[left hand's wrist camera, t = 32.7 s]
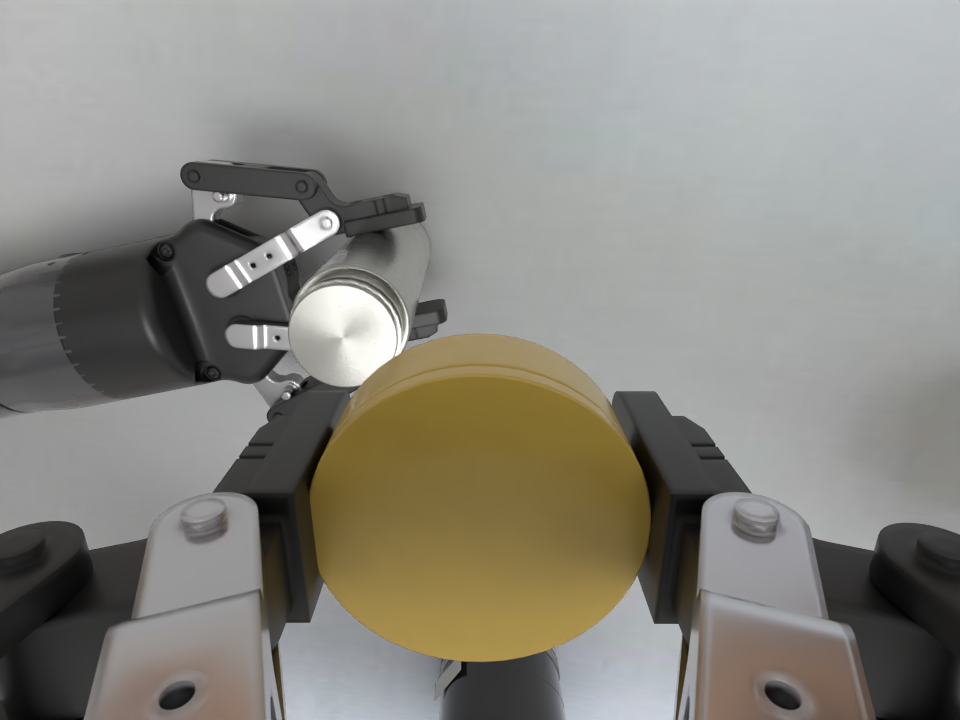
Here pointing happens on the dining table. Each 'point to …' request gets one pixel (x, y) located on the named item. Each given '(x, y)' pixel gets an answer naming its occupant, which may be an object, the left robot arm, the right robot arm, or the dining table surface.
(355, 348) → the silver metal cylinder
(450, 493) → the lid
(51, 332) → the right robot arm
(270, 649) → the left robot arm
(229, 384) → the dining table surface
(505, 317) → the dining table surface
